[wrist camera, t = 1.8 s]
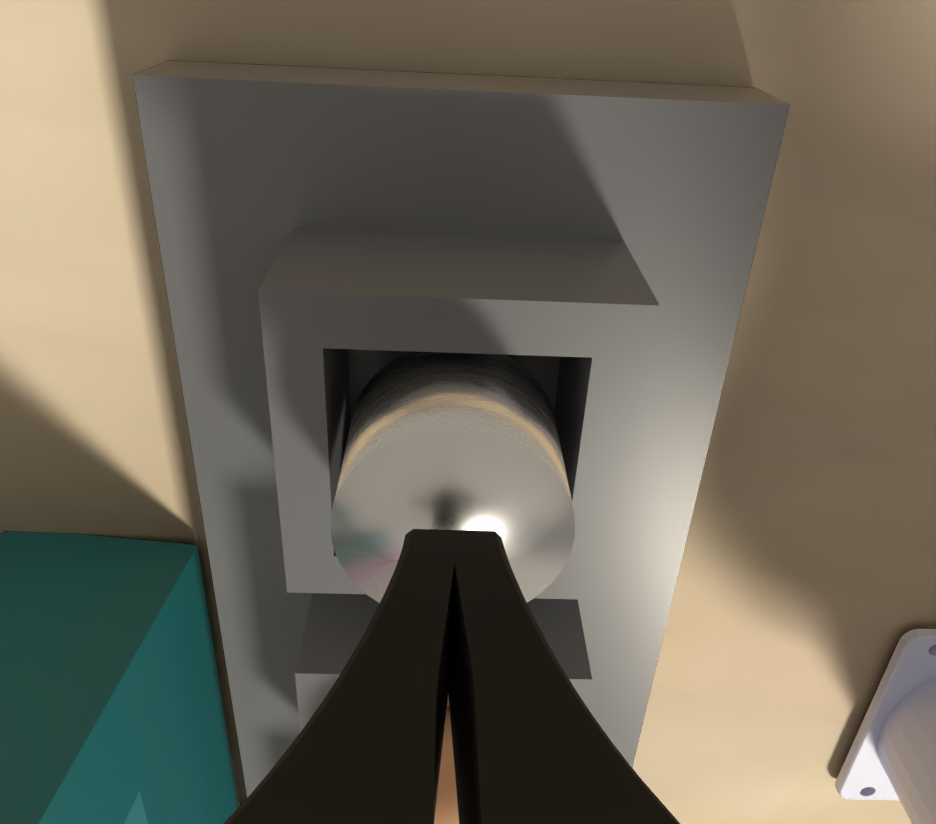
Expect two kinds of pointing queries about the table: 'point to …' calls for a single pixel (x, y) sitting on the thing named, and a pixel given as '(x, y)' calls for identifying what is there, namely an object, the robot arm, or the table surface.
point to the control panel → (447, 329)
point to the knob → (453, 467)
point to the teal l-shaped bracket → (108, 684)
